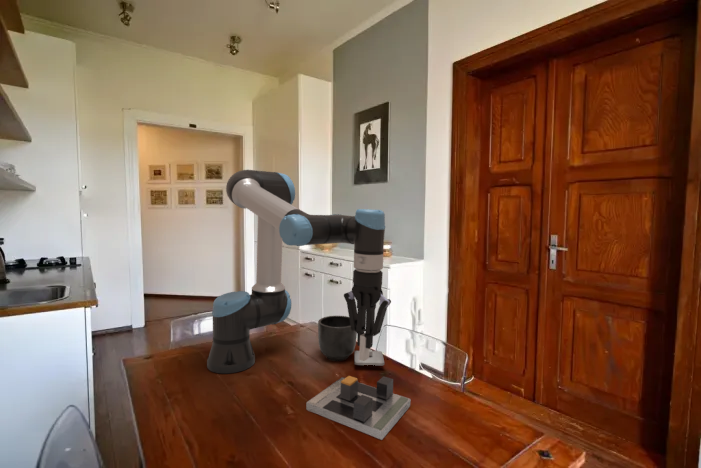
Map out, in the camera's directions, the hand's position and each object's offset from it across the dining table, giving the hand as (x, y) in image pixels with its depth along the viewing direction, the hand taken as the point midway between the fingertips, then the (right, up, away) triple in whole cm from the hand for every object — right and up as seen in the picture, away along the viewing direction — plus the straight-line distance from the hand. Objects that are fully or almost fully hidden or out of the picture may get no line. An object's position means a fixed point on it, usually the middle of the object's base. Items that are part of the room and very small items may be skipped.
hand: (364, 358), depth 93 cm
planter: (-8, -11, +34) cm, 37 cm away
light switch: (+3, -12, +28) cm, 31 cm away
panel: (-1, -14, +1) cm, 14 cm away
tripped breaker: (-4, -11, +3) cm, 12 cm away
